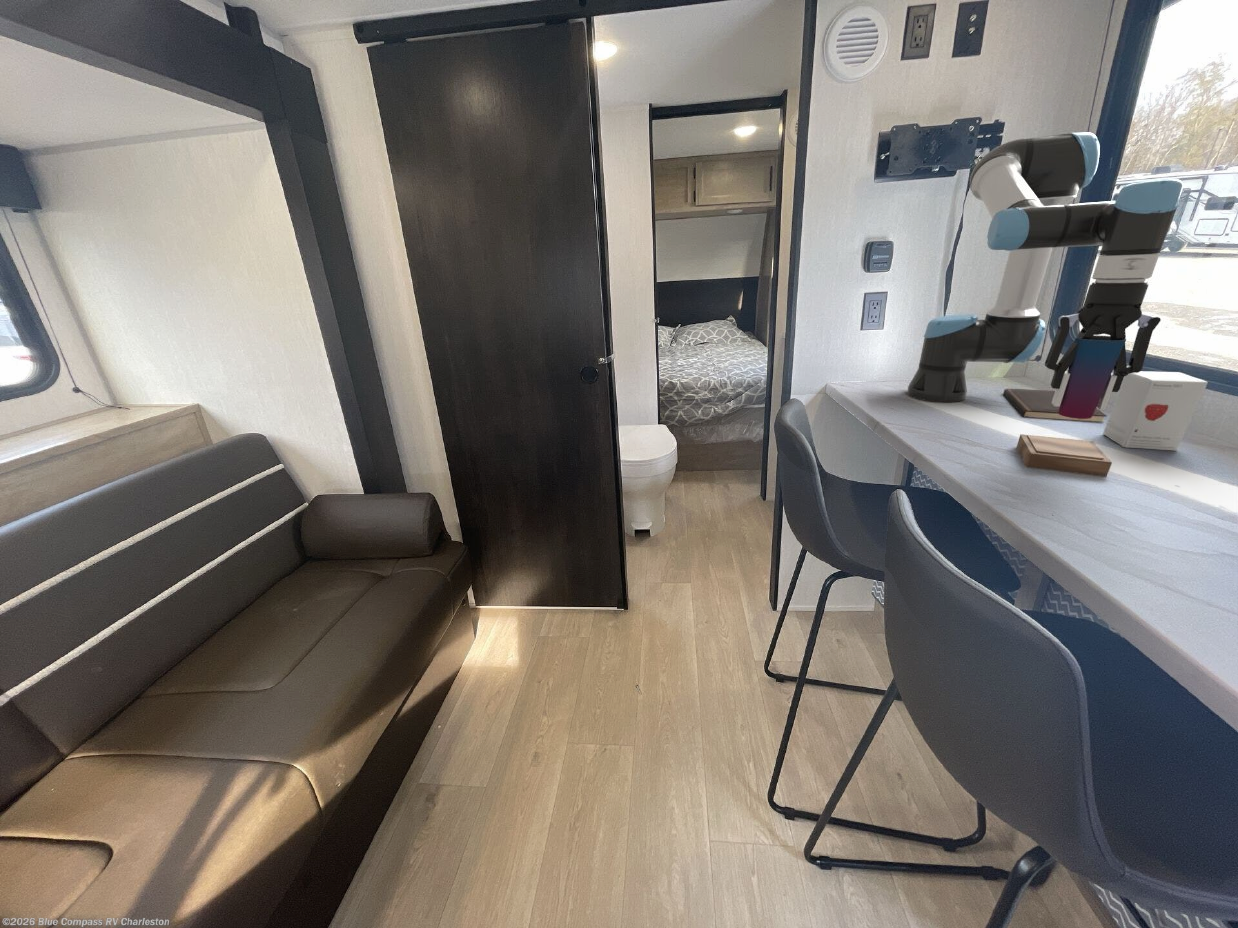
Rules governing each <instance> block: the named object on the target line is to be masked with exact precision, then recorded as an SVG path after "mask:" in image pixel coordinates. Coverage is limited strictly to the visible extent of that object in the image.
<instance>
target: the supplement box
mask: <svg viewBox="0 0 1238 928" xmlns="http://www.w3.org/2000/svg"><path fill="white" fill-rule="evenodd" d="M1207 386H1208V381H1206V380H1204V379H1201V378H1198V377H1195V376H1191V375H1190V374H1186V373H1184V372H1179V371H1146V370H1145V371H1142V370H1141V371H1140V372H1138V373H1130V374H1128V375H1127V376H1124V379H1123V381H1122V384H1121V386H1120V389H1119V391H1118V393H1117V397H1116V399H1115V401H1114V404H1113V406H1112V409H1111V411H1110V414H1109V416H1108V419H1107V422H1106V425H1105V426H1104V430H1103V433H1102V435H1104V436H1106V437H1108V438H1109V439H1111V440H1112V441H1113V442H1115V443H1116V444H1118V445H1120V446H1122V447H1123V448H1129V449H1143V450H1146V449H1148V450H1160V451H1176V452H1177V451H1178V448H1179V447H1180V445H1181V442H1182V440H1183V437H1184V436H1185V433H1186V432H1187V429H1188V426H1189V425H1190V423H1191V421H1192V418H1193V416H1194V413H1195V411H1196V409H1197V407H1198V405H1199V402H1200V401H1201V399H1202V396H1203V394H1204V392H1205V390H1206V388H1207Z"/></svg>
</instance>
